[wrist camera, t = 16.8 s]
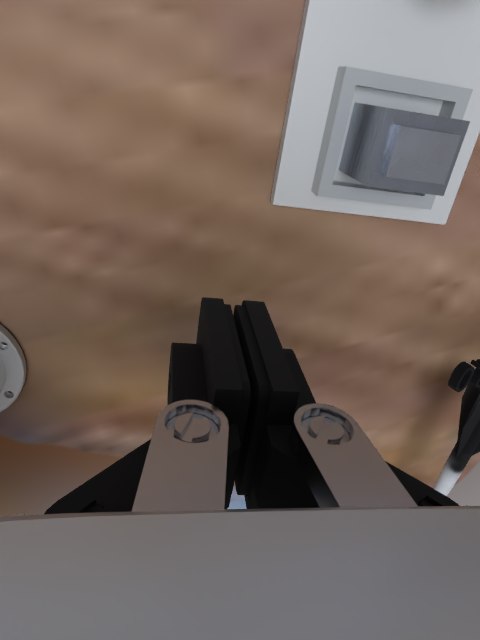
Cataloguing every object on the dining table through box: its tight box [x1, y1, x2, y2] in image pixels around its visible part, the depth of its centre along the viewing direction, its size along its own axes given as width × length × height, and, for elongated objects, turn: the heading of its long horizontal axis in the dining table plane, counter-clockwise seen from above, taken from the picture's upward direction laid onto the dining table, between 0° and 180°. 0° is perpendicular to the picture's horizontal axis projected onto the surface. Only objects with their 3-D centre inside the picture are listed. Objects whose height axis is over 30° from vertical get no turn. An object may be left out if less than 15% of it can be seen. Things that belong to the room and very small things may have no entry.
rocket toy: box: [433, 359, 480, 496], centre depth 44 cm, size 14×6×23 cm
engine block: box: [339, 102, 470, 196], centre depth 33 cm, size 5×6×7 cm
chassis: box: [270, 0, 480, 224], centre depth 31 cm, size 24×16×6 cm, turn 172°
